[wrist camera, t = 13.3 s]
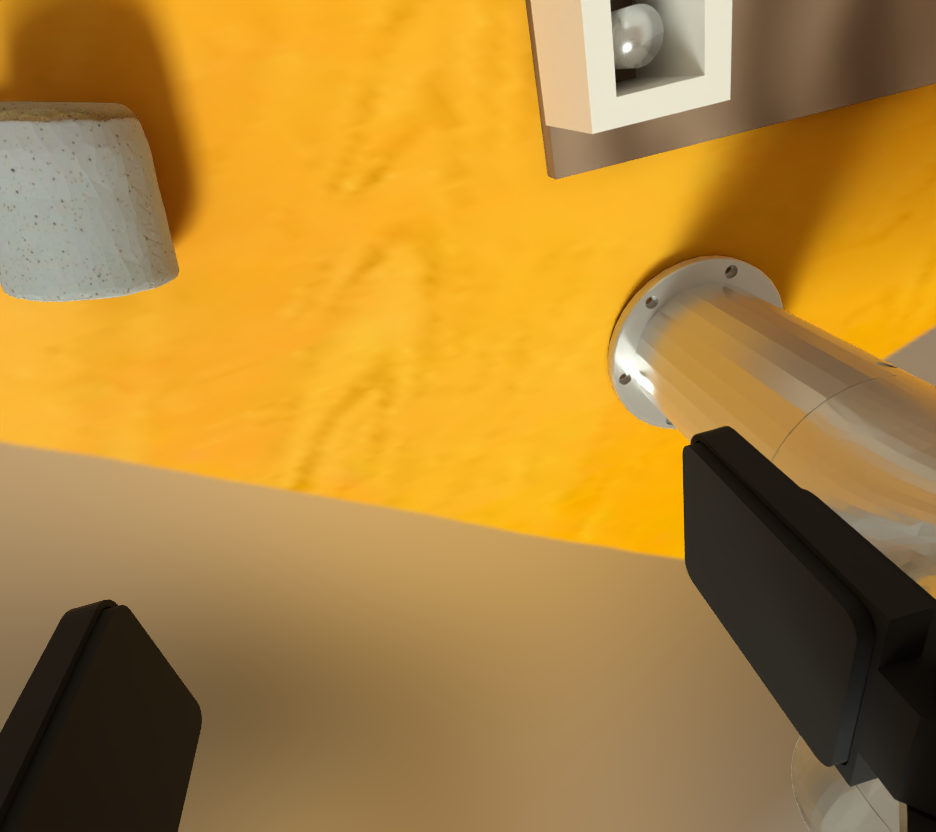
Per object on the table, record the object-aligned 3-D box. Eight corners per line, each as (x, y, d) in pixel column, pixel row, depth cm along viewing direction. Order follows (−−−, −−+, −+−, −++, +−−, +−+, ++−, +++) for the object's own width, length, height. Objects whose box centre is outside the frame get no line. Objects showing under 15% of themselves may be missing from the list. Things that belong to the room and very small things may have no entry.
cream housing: (653, -48, 29) (734, -84, 23) (658, 97, 32) (730, 99, 26) (528, -19, 29) (576, -47, 23) (545, 125, 32) (592, 134, 26)
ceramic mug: (157, 97, 30) (99, 100, 23) (196, 262, 34) (156, 304, 27) (-79, 101, 28) (-214, 105, 21) (-9, 272, 32) (-105, 320, 25)
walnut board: (1008, -197, 30) (1038, -210, 29) (957, 72, 36) (979, 71, 35) (514, -84, 29) (522, -93, 27) (548, 176, 35) (555, 179, 33)
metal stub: (628, 41, 31) (674, 34, 26) (595, 81, 31) (635, 80, 27) (598, 3, 30) (641, -11, 25) (564, 45, 30) (601, 38, 26)
